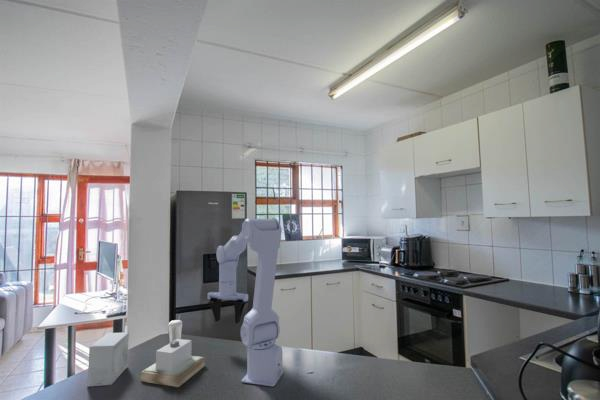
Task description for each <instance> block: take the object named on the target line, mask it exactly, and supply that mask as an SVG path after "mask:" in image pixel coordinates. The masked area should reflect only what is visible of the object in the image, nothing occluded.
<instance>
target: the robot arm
mask: <svg viewBox="0 0 600 400" xmlns="http://www.w3.org/2000/svg"><path fill="white" fill-rule="evenodd" d="M241 224H242V225H241V231H240V233H239V234H238V235H232V237H230V239H229V240H228V241H227V242H226V244H224V245H218V247H217V248H216V260H217V262H218V264H219V265H218V267H219V268H218V273H219V277H218V282H219V283H218V292H216V291H210V292H208V293H207V300H208V305H209V307H210V309H211V311H212V314H213V316H214V317H213V318H214V321H215V322H219V321H220V320H221V308H222V303H223V302H222V301H223V300H225V301H227V300H228V301H234V302H233V308H234V322H235V324H239V323H240V322H241V318H242V313H243V310H244V308H245V305H246V304H247V302H248V301H249V294H247V293H246V294H245V293H240V292H237V267H238V266H239V259H240V254H242V253H243V252H244V251H245V250H246V248H247V246H248V247H249V248H250V250H252V251H253V252H257V253H256V254H257V262H256V263H257V264H256V272H255V273H256V274H255V283H254V291H253V292H254V293H253V301H252V302H253V304H252V308H251V310H250V311H248V312H247V313H246V314H245V315H244V317H243V322H242V325H241V327H240V339H241V342H242V344H243V345H244V346H245V347H246V349H247V353H246V355H247V357H246V358H247V359H246V360H247V362H246V363H247V366H246V368H247V371H246V372H247V373H246V375H244V376H243V378H242V379H241V381H240V382H242V383H244V384H245V383H246V384H253V385H259V386H260V385H261V386H265V387H267V386H268V387H275V386H276V384H277V383H278V382H279V380H280V378H282V377H281V376H282V375H283V374H284V370H283V368H284V366H283V348H282V346H281V345H277V344H276V343H277V341H276V340H277V339H278V338H279V336H280V333H281V332H280V330H281V329H280V316H279V315H278V313H277V312H276V311H274V310H273V309H272V308H273V307H272V306H273V297H274V291H275V290H274V289H275V288H274V287H275V280H276V279H275V278H276V270H277V263H278V252H279V249H280V247H281V240H282V230H283V228H282V227H281V224H280V221H279V220H278V219H277V218H275V217H274V218H245V220H244V221H243V222H242V223H241Z"/></svg>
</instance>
